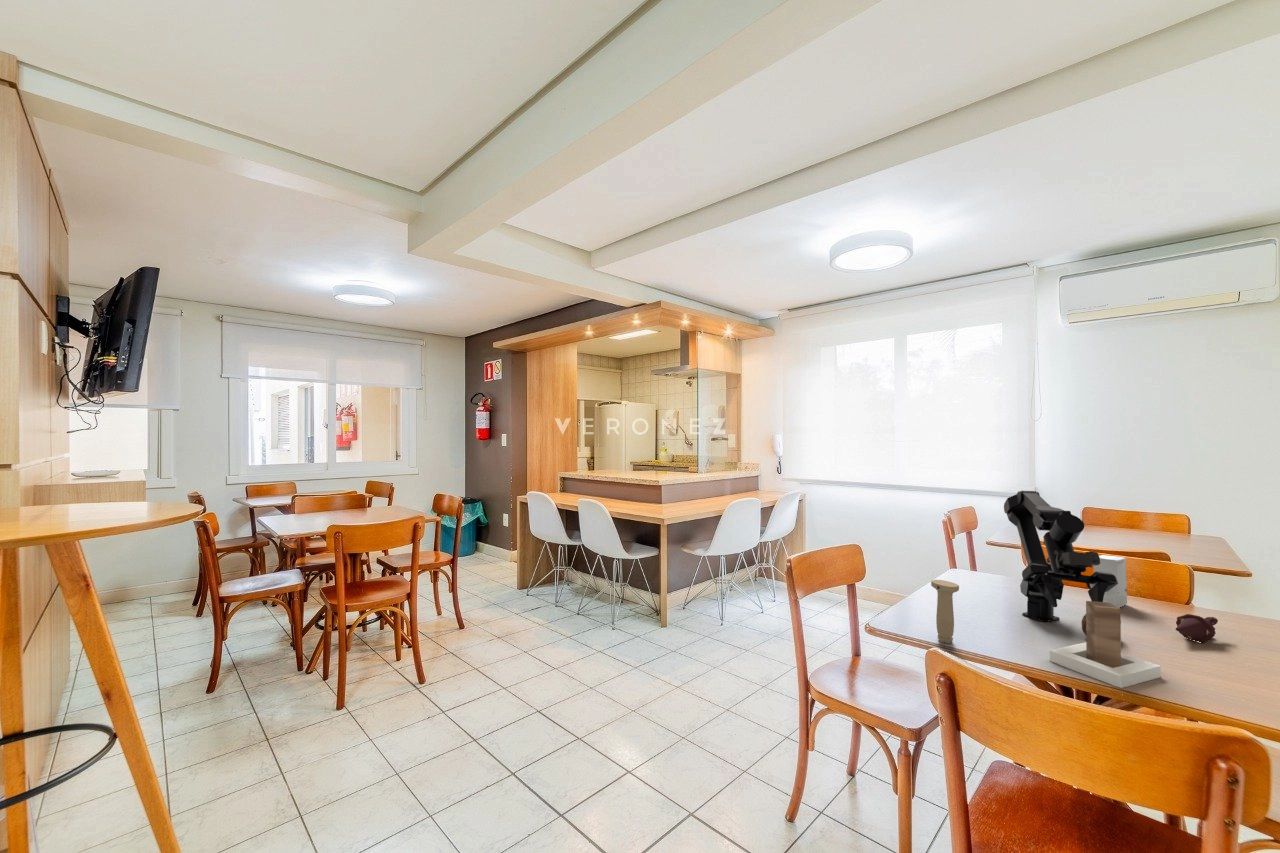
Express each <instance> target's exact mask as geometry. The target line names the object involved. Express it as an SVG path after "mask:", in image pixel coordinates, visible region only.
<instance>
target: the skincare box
mask: <svg viewBox="0 0 1280 853" xmlns="http://www.w3.org/2000/svg"><path fill="white" fill-rule="evenodd" d="M1099 557H1100V564H1099V565H1095V566H1094V565H1093V573H1094V572H1104V573H1111V574H1113V575H1115V577H1116V578H1117V581H1118V584H1117V585H1116V586H1114V587H1113V588H1112V589H1110V590H1109V591H1108V592H1105V594H1104V598H1103V602H1107V603H1111V604H1113V605H1114V606H1116V607H1118V608H1120V607H1121V608H1123V607H1125V606H1127V605H1128V590H1127V588H1128V587H1127V584H1128V583H1127V561H1126V560H1127V559H1126V557H1123V556H1122V557H1121V556H1114V555H1107V554H1101V555H1099ZM1126 604H1127V605H1126ZM1124 605H1125V606H1124ZM1122 606H1123V607H1122ZM1121 608H1120V609H1121Z"/></svg>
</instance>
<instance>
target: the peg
mask: <svg viewBox="0 0 1280 853" xmlns="http://www.w3.org/2000/svg"><path fill="white" fill-rule="evenodd" d="M1085 614H1086V635H1085V639H1086V641H1085V642H1086V659H1089V660H1092V661H1095V662H1098V663H1100V664H1103V665H1106V666H1109V667H1111V668H1115V667H1119V666H1121V653H1122V641H1121V640H1122V637H1121V636H1122V629H1121V628H1122V626H1121V622H1122V620H1121V616H1122V615H1121V614H1122V611H1121V608H1118V607H1116V606H1114V605H1113V604H1111V603H1107V602H1095V601H1091V600H1085Z"/></svg>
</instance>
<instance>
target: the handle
mask: <svg viewBox="0 0 1280 853" xmlns="http://www.w3.org/2000/svg"><path fill="white" fill-rule="evenodd" d="M930 585H931V587H932V588H934V589H935V590H936V592H937V599H936V603H937V604H936V615H935V616H936V621H935V622H936V624H935V625H936V631H937V640H938V641H939V642H940V643H944V642H945V643H944V644H952V643H953V642H954V637H953V636H954V632H955V630H954V629H955V615H954V602H953V601H954V600H953V596H954V595H953V594H954V593H957V592H959V590H960V585H959V584H958V583H954V582H953V581H949V580H944V579H943V580H942V579H933V580H931V581H930Z"/></svg>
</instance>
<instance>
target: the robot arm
mask: <svg viewBox="0 0 1280 853" xmlns="http://www.w3.org/2000/svg"><path fill="white" fill-rule="evenodd" d="M1003 512H1004V513H1005V514H1006V516H1007V519H1008V521H1009V522H1011V524H1012V525H1014V526H1015V527H1016V529H1017V532H1018V536H1019V540H1020V543H1021V547H1022V551H1023V553H1024V557H1025V560H1026V563H1027V566H1026V567H1025V568H1024V569H1023V570H1022V573H1021V576H1022V580H1021V582H1020V585H1019V586H1020V593H1021V594H1022V595H1024V597H1026V598H1027V601H1026V602H1027V604H1026V607H1027V608H1026V609H1027V610H1026V612H1022V613H1021V614H1022V616H1024V617H1027V618H1032V619H1034V620H1037V621H1039V622H1043V623H1048V622H1053V621H1058V620H1060V617H1059V616H1056V615H1054V614H1055V612H1054V610H1055V608H1057V607H1058V602H1057V600H1058V601H1059V600H1062V598H1063V590H1064V587H1065V586H1064V585H1065V584H1064V583H1063V581H1065V582H1072V583H1073V582H1075V583H1082V584H1086V587H1087V588H1088V589H1089V590H1087V593H1088V596H1089V598H1090V601H1095V602H1103V598H1104V594H1105V592H1108V591H1109V590H1110V589H1112V588H1113V587H1114V586H1116V585H1117V584H1118V581H1117V578H1116V577H1115V575H1113V574H1111V573H1104V572H1094V571H1093V573H1092V574H1091V575H1085V574H1082V573H1085V572H1086V571H1087V568H1094V566H1095V565H1099V564H1100V557H1099V556H1100V555H1099V553H1098V552H1097V551H1085V553H1084V552H1079V551H1075V549H1074V545H1073V544H1074V543H1075V542H1076V541H1077V539H1078V538H1079V536H1080V535H1081V534H1082V532H1083V531H1084V528H1085V523H1084V521H1083V520H1082V519H1081V518H1080V517H1078V516H1076V515H1075V514H1072V512H1071V511H1070V510H1064V509H1063V508H1060V507H1059V508H1058V507H1054V506H1052V505H1050V504H1049V503H1048V502H1047V501H1046V500H1044V499H1043V497H1042V496H1040V492H1039V491H1036V490H1020V491H1019V490H1018V491H1017V493H1016V494H1014V495H1011V496H1009V497H1007V498H1006V500H1005V502H1004V503H1003ZM1037 530H1038V531H1046V533H1045V534H1043V545H1045V549H1046V552H1047V556H1048V557H1047V558H1046V555H1045V552H1044V549H1043V546H1042V544H1041V540H1040V537H1039V533H1038V531H1037Z"/></svg>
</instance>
